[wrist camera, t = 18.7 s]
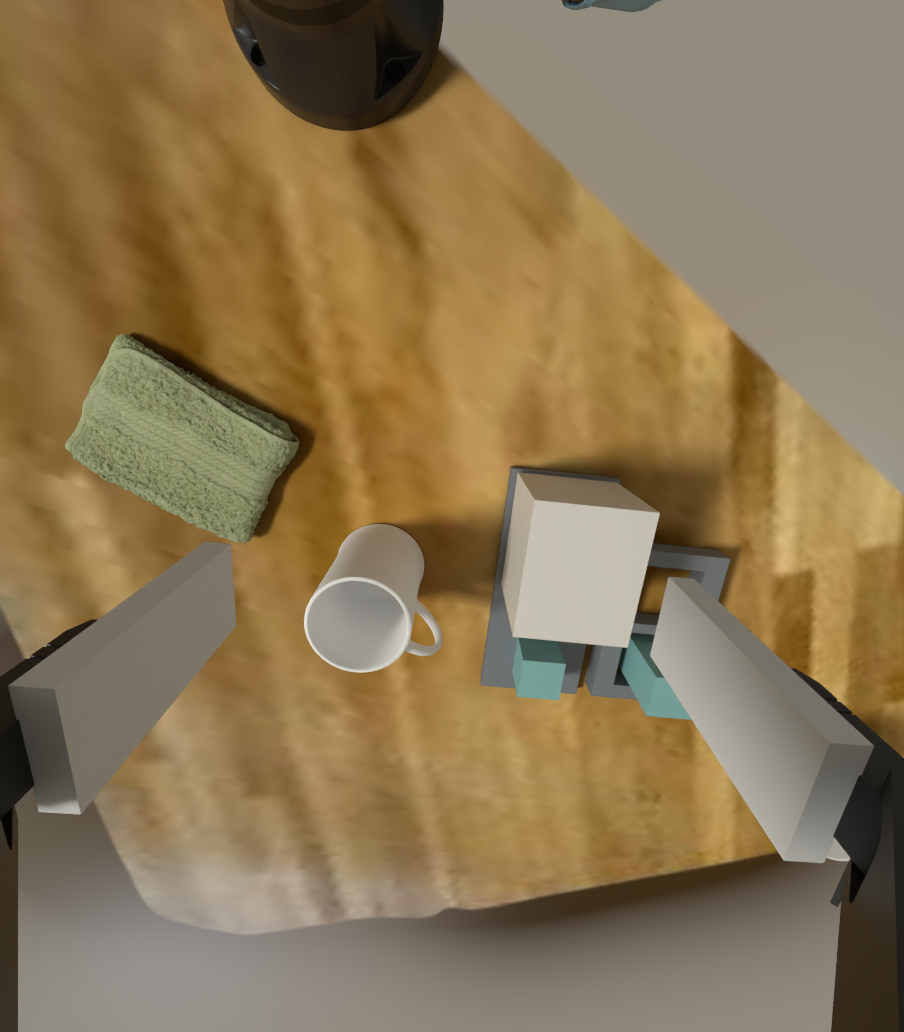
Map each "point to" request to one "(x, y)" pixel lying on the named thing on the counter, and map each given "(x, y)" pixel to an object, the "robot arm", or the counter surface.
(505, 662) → the board
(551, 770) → the counter surface
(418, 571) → the mug
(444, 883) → the counter surface
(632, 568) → the cover
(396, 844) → the counter surface
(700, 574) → the socket board
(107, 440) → the washcloth
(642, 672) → the peg
